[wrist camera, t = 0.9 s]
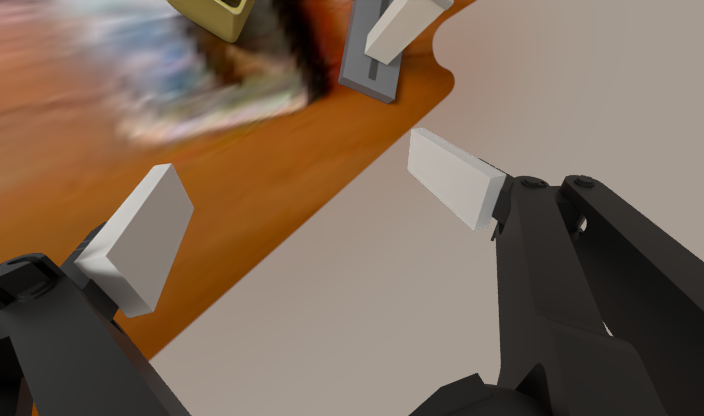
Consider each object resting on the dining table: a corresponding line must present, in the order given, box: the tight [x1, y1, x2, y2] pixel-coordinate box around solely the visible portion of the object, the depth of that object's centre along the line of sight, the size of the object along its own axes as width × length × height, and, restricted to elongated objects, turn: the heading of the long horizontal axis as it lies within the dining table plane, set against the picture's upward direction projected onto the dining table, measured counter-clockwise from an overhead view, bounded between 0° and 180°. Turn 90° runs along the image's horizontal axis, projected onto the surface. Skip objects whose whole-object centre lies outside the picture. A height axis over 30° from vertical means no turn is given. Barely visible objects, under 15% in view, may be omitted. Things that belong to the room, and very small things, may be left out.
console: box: [338, 0, 403, 104], centre depth 39 cm, size 22×9×2 cm, turn 168°
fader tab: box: [364, 0, 454, 65], centre depth 32 cm, size 3×4×13 cm
